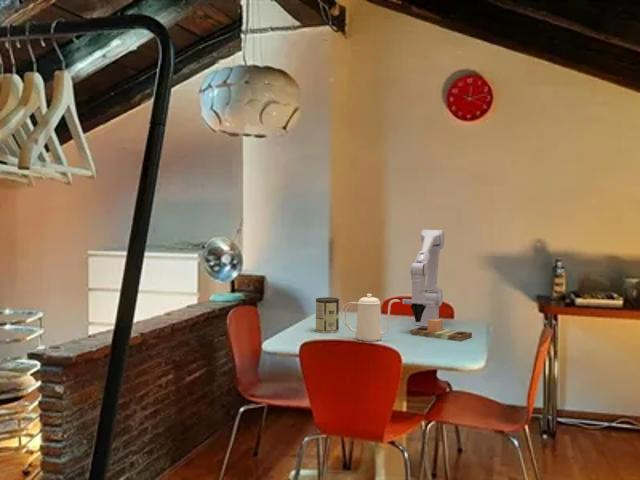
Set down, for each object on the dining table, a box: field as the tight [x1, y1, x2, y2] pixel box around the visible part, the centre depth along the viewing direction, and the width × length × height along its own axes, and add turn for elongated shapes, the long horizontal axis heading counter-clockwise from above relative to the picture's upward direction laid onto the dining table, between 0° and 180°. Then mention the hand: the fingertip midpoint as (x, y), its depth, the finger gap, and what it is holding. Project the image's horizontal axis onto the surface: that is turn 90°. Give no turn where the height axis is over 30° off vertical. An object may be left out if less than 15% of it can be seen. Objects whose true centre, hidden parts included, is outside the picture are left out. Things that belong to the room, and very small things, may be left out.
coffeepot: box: [340, 293, 400, 342], centre depth 290 cm, size 11×25×19 cm, turn 71°
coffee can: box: [315, 296, 340, 334], centre depth 308 cm, size 10×10×14 cm
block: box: [428, 319, 443, 332], centre depth 300 cm, size 4×4×4 cm
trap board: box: [410, 326, 473, 342], centre depth 299 cm, size 23×11×2 cm, turn 55°
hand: (418, 321), depth 305 cm, fingers closed
